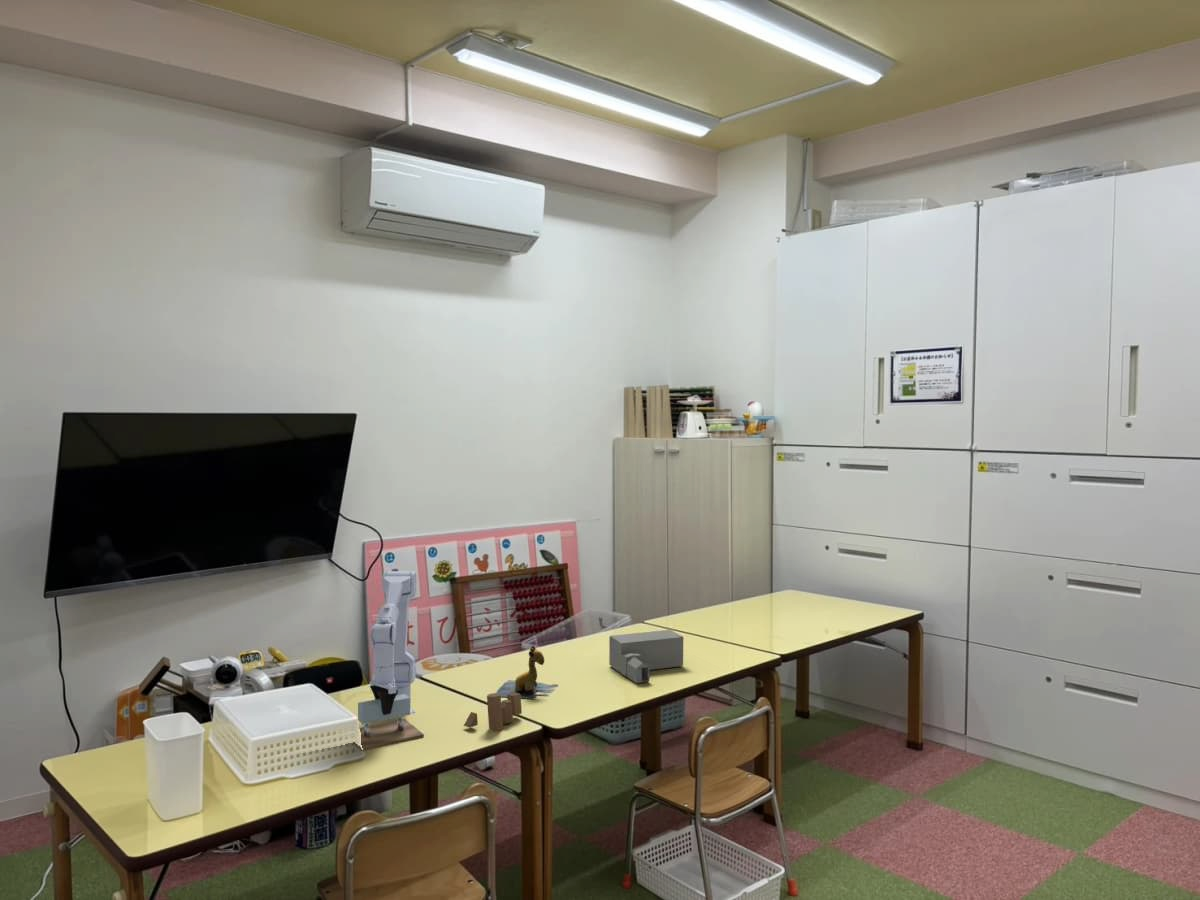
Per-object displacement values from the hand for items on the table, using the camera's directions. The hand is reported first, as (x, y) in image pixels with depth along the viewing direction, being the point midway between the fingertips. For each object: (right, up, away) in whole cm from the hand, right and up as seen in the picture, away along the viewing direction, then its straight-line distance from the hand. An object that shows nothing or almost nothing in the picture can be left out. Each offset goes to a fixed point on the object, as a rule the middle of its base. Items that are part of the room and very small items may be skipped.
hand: (384, 711), depth 251 cm
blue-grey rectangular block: (0, -2, 0) cm, 2 cm away
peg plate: (0, -7, 0) cm, 7 cm away
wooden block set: (+32, -7, +9) cm, 34 cm away
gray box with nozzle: (+82, -5, +66) cm, 105 cm away
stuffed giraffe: (+37, -6, +41) cm, 56 cm away
